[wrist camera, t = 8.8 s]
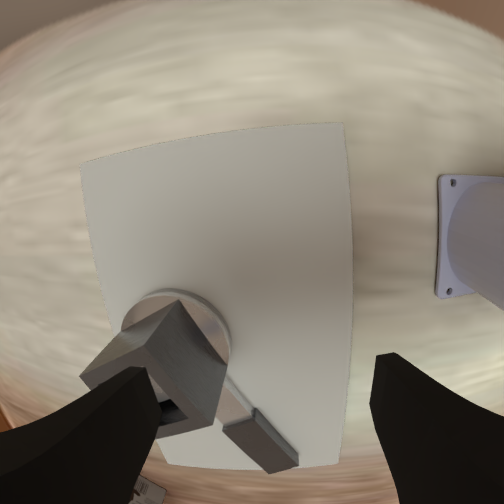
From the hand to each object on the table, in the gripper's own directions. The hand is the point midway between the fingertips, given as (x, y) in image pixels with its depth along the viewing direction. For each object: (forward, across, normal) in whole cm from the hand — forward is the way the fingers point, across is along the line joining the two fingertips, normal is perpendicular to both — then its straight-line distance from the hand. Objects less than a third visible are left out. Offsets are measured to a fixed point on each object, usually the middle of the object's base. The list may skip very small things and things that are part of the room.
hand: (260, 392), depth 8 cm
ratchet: (+9, +4, +8) cm, 13 cm away
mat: (+9, +3, +4) cm, 11 cm away
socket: (+7, +6, +3) cm, 10 cm away
